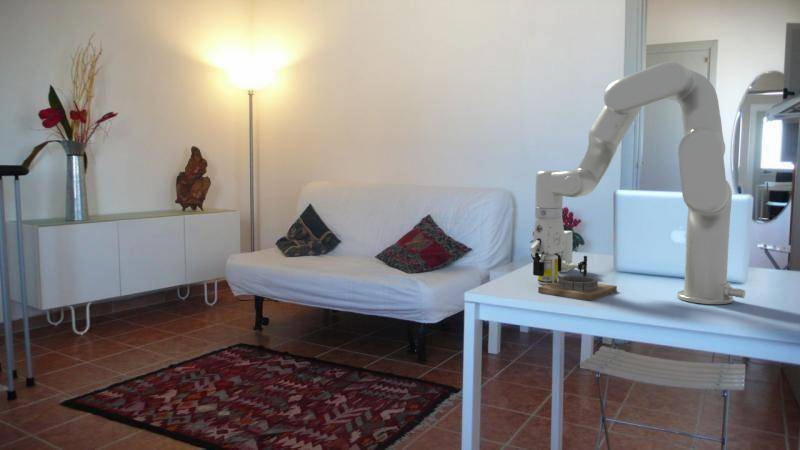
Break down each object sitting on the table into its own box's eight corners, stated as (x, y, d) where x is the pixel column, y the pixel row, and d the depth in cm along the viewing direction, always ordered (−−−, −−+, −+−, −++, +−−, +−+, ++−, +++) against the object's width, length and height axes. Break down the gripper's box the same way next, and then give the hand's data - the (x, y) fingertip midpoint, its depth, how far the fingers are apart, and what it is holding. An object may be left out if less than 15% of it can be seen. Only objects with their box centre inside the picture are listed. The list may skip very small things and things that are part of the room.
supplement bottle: (551, 281, 180) (552, 246, 178) (561, 284, 174) (561, 249, 173) (534, 282, 178) (534, 247, 177) (543, 285, 173) (543, 250, 172)
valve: (545, 277, 186) (586, 279, 182) (545, 256, 185) (586, 257, 182) (547, 273, 192) (586, 275, 189) (547, 252, 192) (587, 254, 188)
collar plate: (616, 291, 164) (617, 278, 164) (590, 300, 154) (590, 287, 153) (566, 284, 175) (566, 272, 174) (538, 292, 164) (538, 279, 164)
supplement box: (572, 269, 199) (573, 230, 198) (566, 272, 193) (566, 233, 192) (550, 267, 203) (551, 229, 202) (543, 270, 197) (543, 231, 196)
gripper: (544, 216, 165) (543, 279, 167) (575, 212, 178) (574, 270, 180) (520, 215, 171) (519, 275, 172) (552, 211, 183) (551, 267, 185)
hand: (547, 273), depth 176 cm, fingers open, 9 cm apart
